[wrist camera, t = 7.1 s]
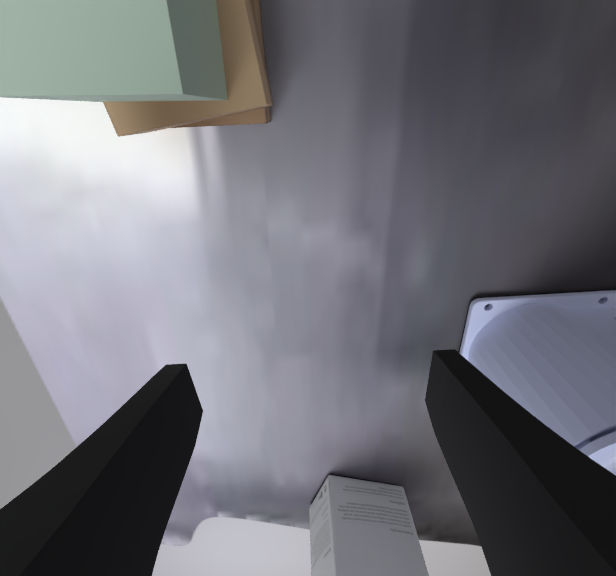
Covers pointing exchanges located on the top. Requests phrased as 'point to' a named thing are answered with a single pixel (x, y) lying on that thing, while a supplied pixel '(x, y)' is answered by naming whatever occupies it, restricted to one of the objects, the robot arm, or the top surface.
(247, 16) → the tower top
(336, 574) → the skincare box
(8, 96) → the block
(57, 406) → the top surface
